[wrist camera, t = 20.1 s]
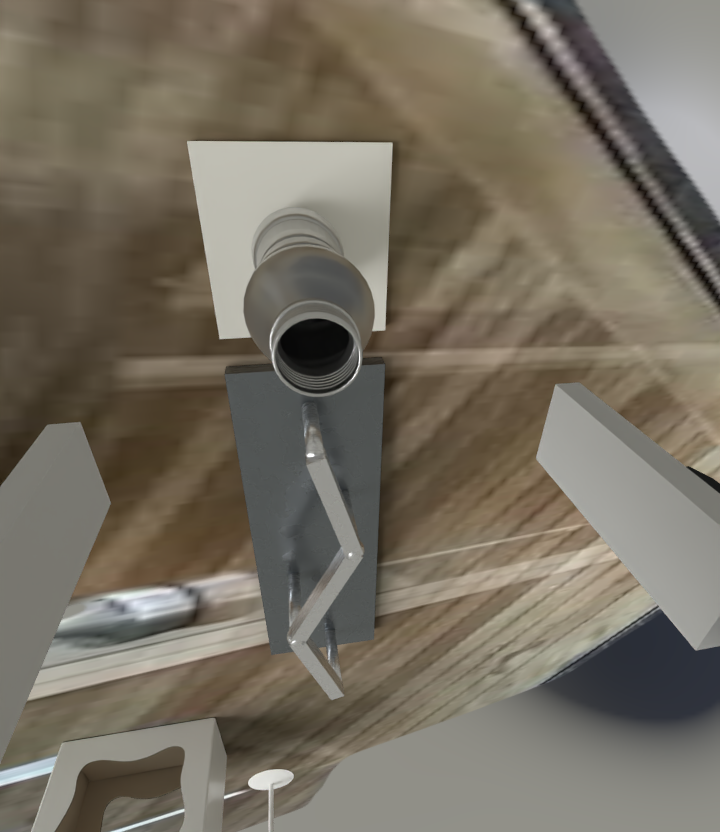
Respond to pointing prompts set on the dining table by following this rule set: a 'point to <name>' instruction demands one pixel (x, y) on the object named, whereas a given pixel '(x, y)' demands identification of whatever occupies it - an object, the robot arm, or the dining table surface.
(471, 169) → the dining table surface
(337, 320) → the plastic bottle
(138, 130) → the dining table surface
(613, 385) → the dining table surface
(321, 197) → the pad
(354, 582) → the grey platform with railing
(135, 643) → the dining table surface
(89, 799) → the gable box
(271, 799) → the wineglass
